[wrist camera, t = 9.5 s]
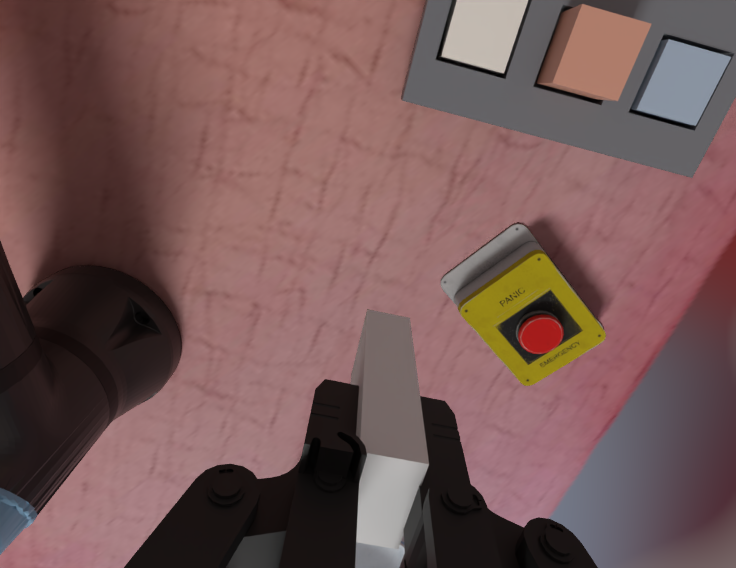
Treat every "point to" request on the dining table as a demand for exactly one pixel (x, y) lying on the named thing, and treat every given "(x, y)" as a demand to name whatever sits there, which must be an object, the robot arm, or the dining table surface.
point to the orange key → (592, 52)
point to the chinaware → (378, 556)
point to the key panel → (571, 111)
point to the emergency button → (522, 306)
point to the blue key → (679, 83)
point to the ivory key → (481, 33)
